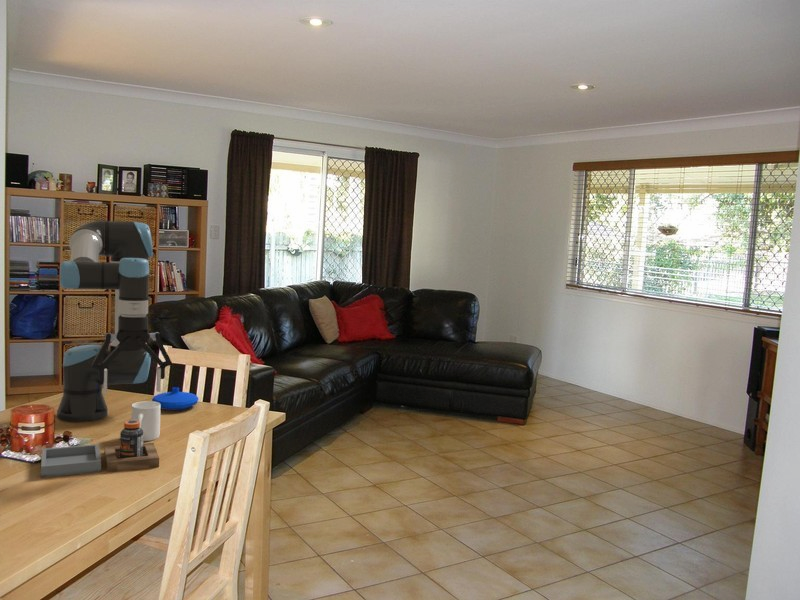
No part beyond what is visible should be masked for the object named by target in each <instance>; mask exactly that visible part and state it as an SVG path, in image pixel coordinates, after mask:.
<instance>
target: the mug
mask: <svg viewBox="0 0 800 600" xmlns="http://www.w3.org/2000/svg"><path fill="white" fill-rule="evenodd" d="M161 409H162V408H161V404H160V403H158V402H154V401H152V400H145V401H144V400H143V401H137V402H133V403H132V404H131V413H130V414H131V415H130V416H131V417H130V418H131V419H130V420H138V421H139V422H140V427H139V428H141V429H142V430H143V442H152V441H155V440H157V439H159V437H160V434H161V433H160V432H161Z"/></svg>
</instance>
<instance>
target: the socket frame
mask: <svg viewBox="0 0 800 600" xmlns="http://www.w3.org/2000/svg"><path fill="white" fill-rule="evenodd" d="M104 461H105V467H106V472H107V473H111V472H119V471H120V472H121V471H130V470H132V471H133V470H141V469H152V468H159V467H160V456H159V453H158V451H157V449H156V446H155V443H154V442H147V443H143V456H141V457H131V458H120V445H113V446H104Z"/></svg>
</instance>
